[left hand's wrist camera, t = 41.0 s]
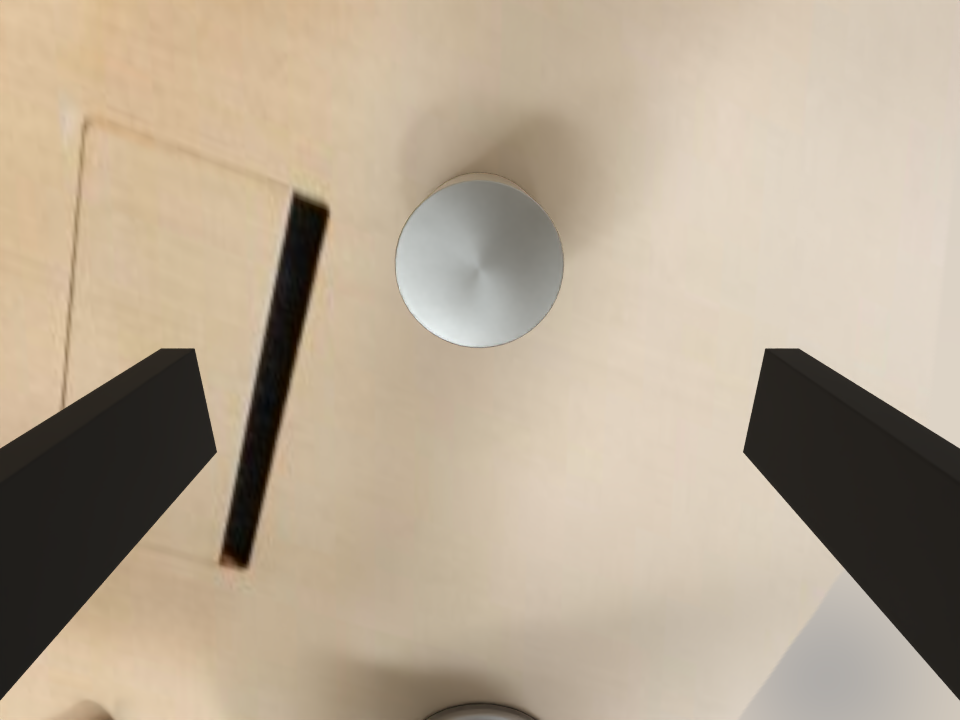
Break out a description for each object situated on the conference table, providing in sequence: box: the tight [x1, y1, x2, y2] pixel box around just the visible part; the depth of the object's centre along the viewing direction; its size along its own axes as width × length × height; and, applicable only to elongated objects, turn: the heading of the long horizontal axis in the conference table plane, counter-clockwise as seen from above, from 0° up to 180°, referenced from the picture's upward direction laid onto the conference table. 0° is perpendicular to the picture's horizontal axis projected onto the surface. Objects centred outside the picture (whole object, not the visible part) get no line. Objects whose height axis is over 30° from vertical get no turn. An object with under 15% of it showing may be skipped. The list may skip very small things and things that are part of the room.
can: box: [395, 173, 564, 348], centre depth 31 cm, size 8×8×9 cm
